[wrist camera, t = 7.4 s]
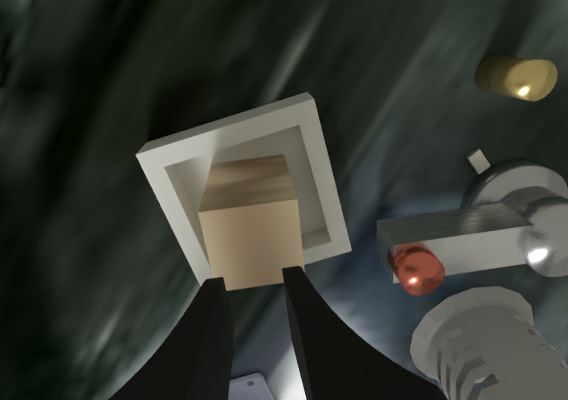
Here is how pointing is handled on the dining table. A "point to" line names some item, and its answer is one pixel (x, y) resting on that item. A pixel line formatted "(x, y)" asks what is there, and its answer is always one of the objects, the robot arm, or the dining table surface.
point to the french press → (488, 348)
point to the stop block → (251, 221)
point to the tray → (245, 145)
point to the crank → (476, 240)
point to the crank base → (515, 173)
